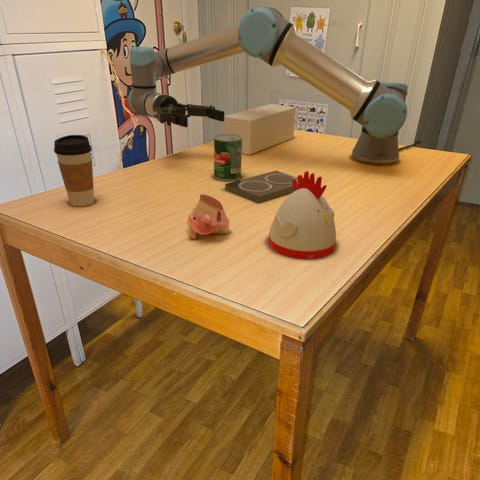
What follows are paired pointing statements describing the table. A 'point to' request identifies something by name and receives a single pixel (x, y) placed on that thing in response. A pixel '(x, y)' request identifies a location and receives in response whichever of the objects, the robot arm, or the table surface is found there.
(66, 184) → the coffee cup
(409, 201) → the table surface
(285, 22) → the robot arm
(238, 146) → the canned tomato
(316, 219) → the kitchen timer
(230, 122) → the beige rectangular block
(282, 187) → the hob
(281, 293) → the table surface
